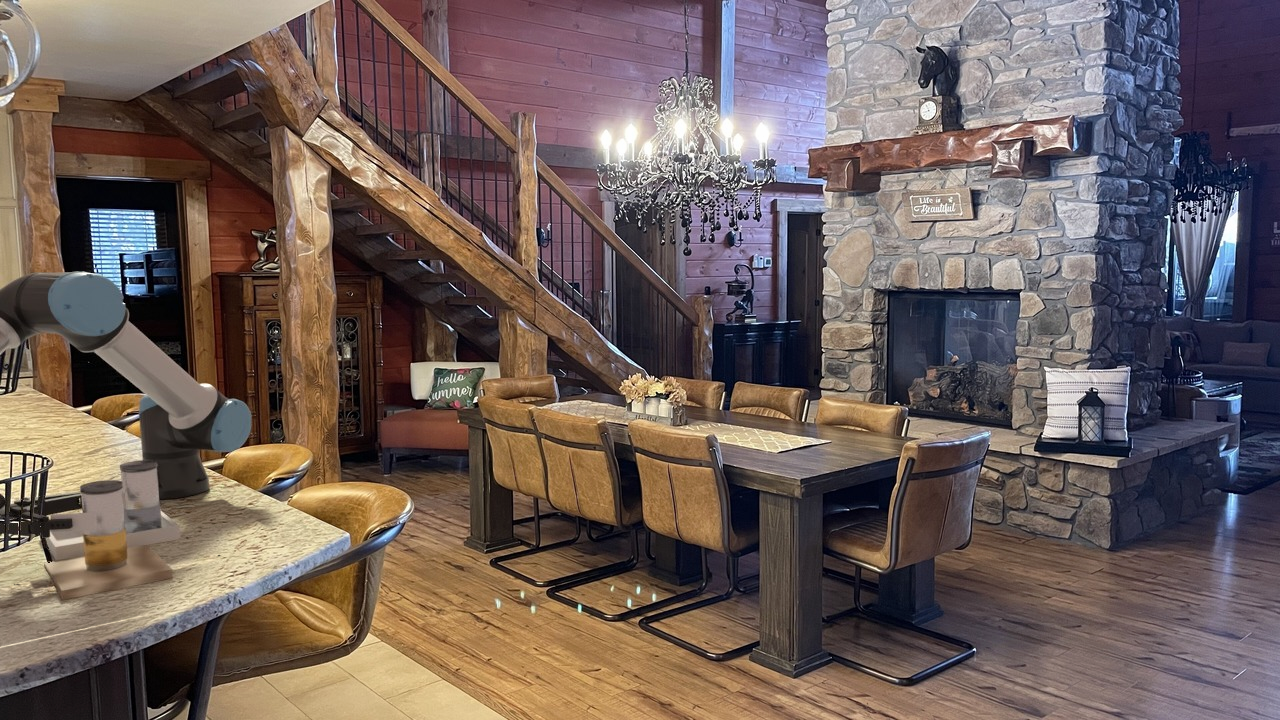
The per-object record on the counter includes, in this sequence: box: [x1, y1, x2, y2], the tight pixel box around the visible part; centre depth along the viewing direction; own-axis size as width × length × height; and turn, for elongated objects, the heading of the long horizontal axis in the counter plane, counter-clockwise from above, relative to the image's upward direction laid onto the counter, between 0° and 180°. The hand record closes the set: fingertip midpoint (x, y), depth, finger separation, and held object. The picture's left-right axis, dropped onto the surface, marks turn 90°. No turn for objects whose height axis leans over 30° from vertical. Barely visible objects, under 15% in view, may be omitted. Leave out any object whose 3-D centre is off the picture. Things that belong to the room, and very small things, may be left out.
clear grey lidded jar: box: [119, 459, 162, 534], centre depth 180 cm, size 6×6×14 cm
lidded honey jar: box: [79, 479, 128, 572], centre depth 162 cm, size 6×6×14 cm
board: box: [43, 545, 174, 601], centre depth 163 cm, size 16×18×2 cm
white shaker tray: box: [46, 510, 181, 561], centre depth 180 cm, size 20×18×4 cm
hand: (112, 510), depth 162 cm, fingers open, 13 cm apart
